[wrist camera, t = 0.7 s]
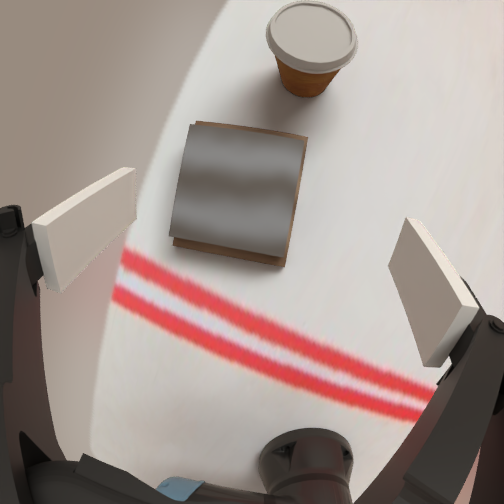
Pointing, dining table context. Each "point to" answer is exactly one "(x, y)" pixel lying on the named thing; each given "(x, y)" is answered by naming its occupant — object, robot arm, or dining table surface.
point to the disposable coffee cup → (310, 45)
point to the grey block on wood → (238, 191)
